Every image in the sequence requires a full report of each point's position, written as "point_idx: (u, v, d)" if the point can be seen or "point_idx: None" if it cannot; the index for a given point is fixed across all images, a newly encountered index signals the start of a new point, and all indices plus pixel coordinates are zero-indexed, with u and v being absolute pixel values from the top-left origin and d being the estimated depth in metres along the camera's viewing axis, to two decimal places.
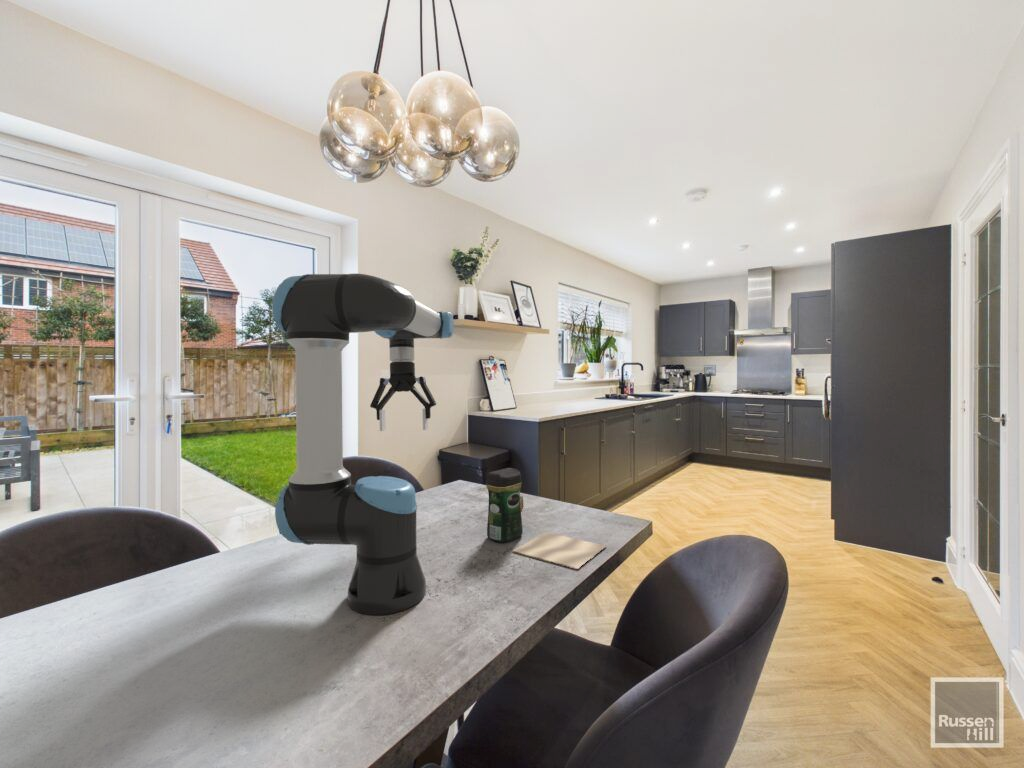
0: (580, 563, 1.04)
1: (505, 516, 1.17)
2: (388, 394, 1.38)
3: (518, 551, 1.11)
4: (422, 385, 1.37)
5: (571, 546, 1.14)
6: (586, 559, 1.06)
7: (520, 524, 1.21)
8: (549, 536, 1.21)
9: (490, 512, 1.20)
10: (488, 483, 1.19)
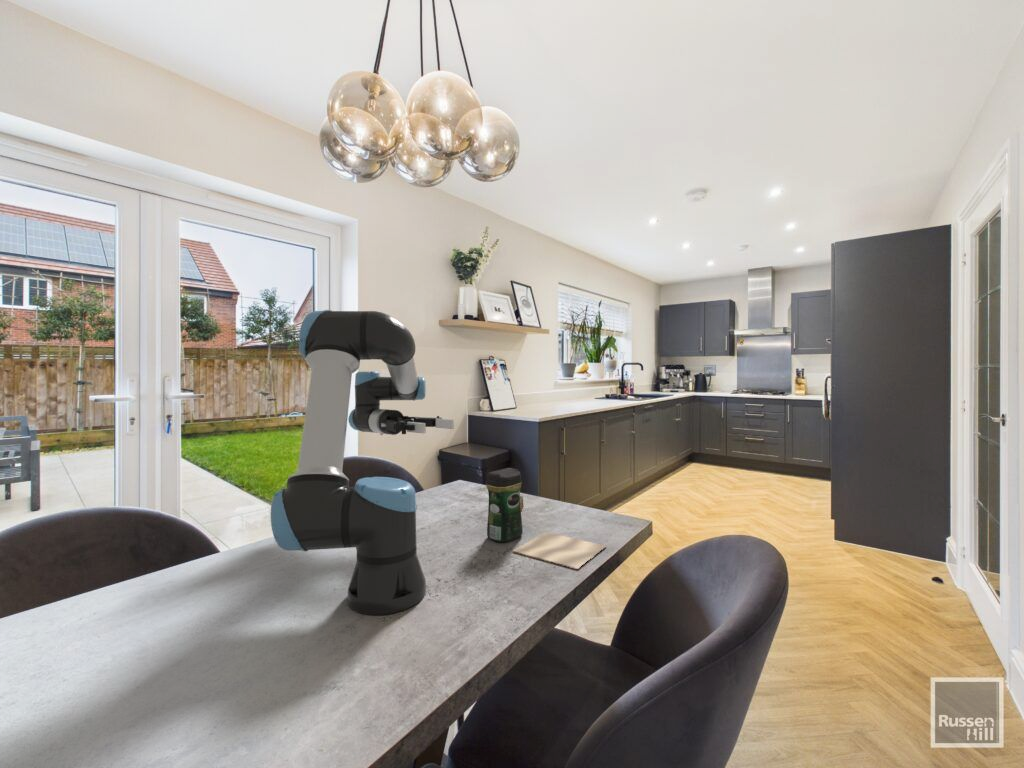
0: (580, 563, 1.04)
1: (505, 516, 1.17)
2: (401, 420, 1.29)
3: (518, 551, 1.11)
4: (420, 417, 1.38)
5: (571, 546, 1.14)
6: (586, 559, 1.06)
7: (520, 524, 1.21)
8: (549, 536, 1.21)
9: (490, 512, 1.20)
10: (488, 483, 1.19)
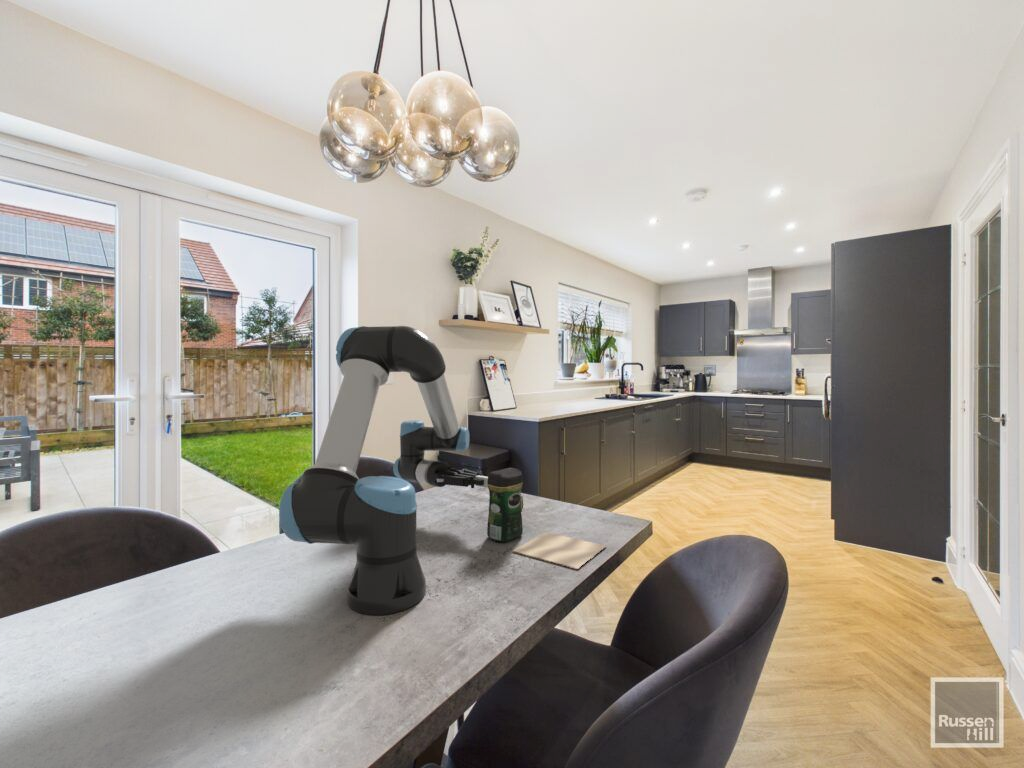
0: (580, 563, 1.04)
1: (505, 516, 1.17)
2: (458, 474, 1.31)
3: (518, 551, 1.11)
4: (467, 470, 1.37)
5: (571, 546, 1.14)
6: (586, 559, 1.06)
7: (520, 524, 1.21)
8: (549, 536, 1.21)
9: (491, 512, 1.20)
10: (489, 483, 1.19)
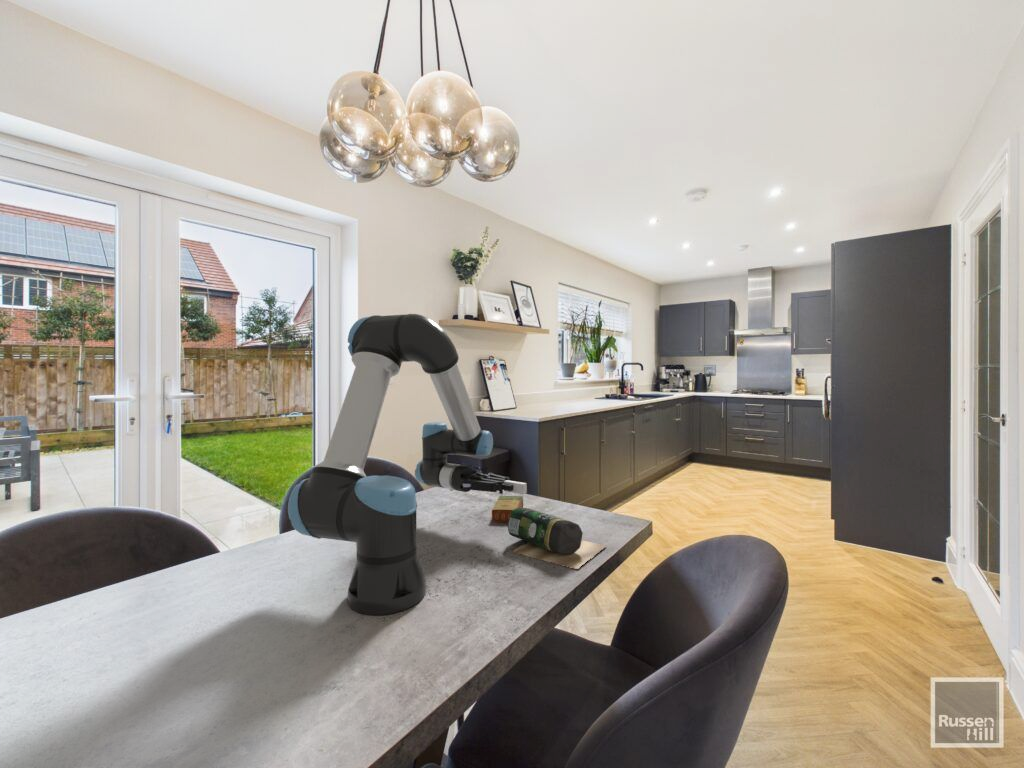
0: (580, 563, 1.04)
1: (528, 540, 1.13)
2: (485, 479, 1.25)
3: (518, 551, 1.11)
4: (493, 474, 1.30)
5: None
6: (586, 559, 1.06)
7: None
8: None
9: (529, 523, 1.12)
10: (552, 530, 1.06)
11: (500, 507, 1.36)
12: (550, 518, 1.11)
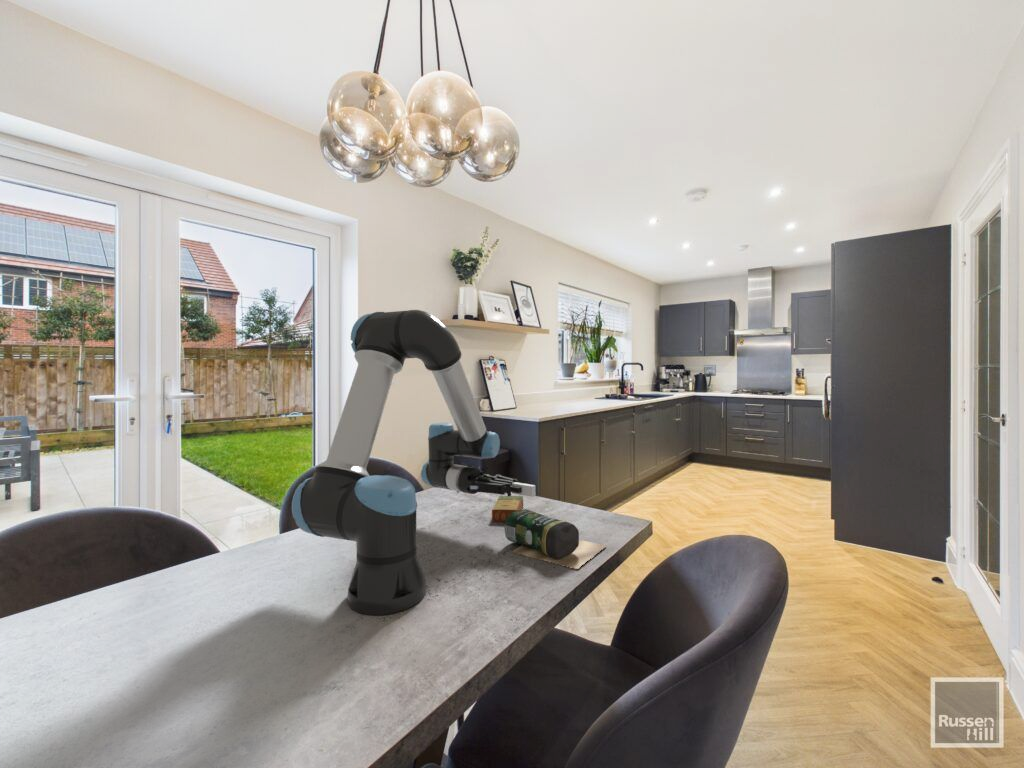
0: (580, 563, 1.04)
1: (527, 546, 1.12)
2: (493, 480, 1.22)
3: (518, 551, 1.11)
4: (500, 476, 1.28)
5: None
6: (586, 559, 1.06)
7: None
8: None
9: (524, 530, 1.11)
10: (547, 538, 1.05)
11: (500, 507, 1.36)
12: (544, 523, 1.09)
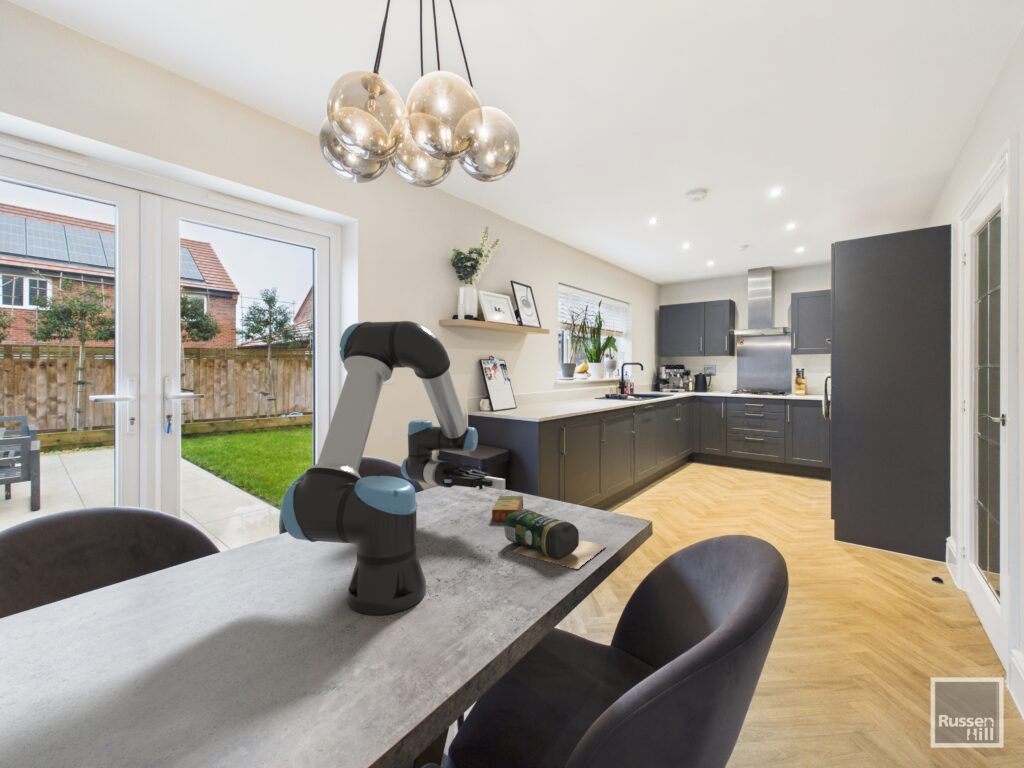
0: (580, 563, 1.04)
1: (527, 546, 1.12)
2: (466, 475, 1.29)
3: (518, 551, 1.11)
4: (475, 470, 1.34)
5: None
6: (586, 559, 1.06)
7: None
8: None
9: (524, 530, 1.11)
10: (547, 538, 1.05)
11: (500, 507, 1.36)
12: (543, 524, 1.09)
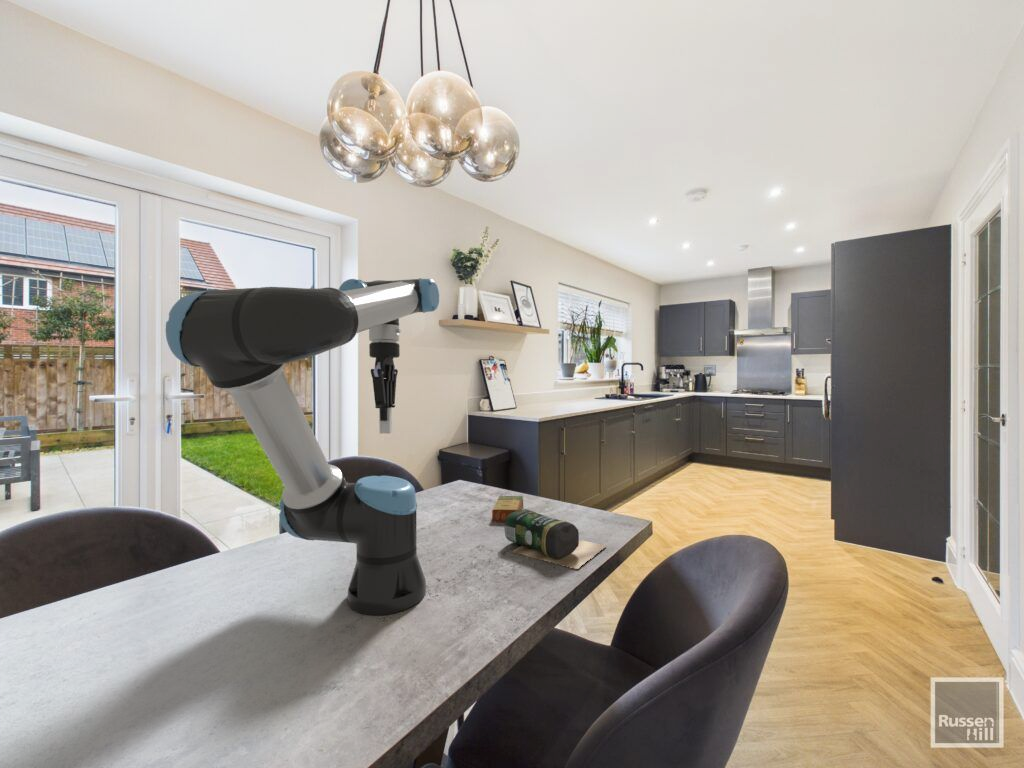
0: (580, 563, 1.04)
1: (527, 546, 1.12)
2: None
3: (518, 551, 1.11)
4: None
5: None
6: (586, 559, 1.06)
7: None
8: None
9: (524, 530, 1.11)
10: (547, 538, 1.05)
11: (501, 507, 1.36)
12: (543, 524, 1.09)
